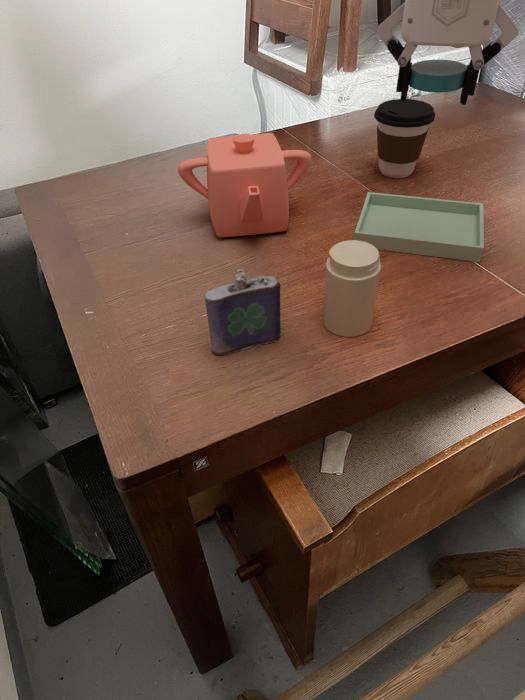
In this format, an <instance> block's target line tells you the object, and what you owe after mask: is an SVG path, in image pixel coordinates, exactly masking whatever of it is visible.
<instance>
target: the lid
mask: <svg viewBox="0 0 525 700" xmlns="http://www.w3.org/2000/svg"><path fill="white" fill-rule="evenodd" d="M466 73H467V64H465V63H463V62H460V61H456V60H451V59H426V60H421V61H417V62H414V63H412V66H411V71H410V78H409V87H410V88H412V89H413V90H416V91H420V92H425V93H437V94H439V93H449V92H451V93H452V92H456V91H459V90H460V89H462V87H463V86H464V82H465V77H466Z"/></svg>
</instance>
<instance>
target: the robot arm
mask: <svg viewBox="0 0 525 700" xmlns="http://www.w3.org/2000/svg"><path fill="white" fill-rule="evenodd" d="M400 23H401V30H400V32H401V39H402V40H403V42H404V43H405V44H404V46H403V44H402V42H401V41H400V40H399V39H398V38H397V37H396V35H395V33H394V32H393V29H394V28H395V27H396V26H397V25H399V24H400ZM495 24H496V26H497V27H498V28H499V29H500V30H501V31H500V32H501V33H500V34H499V35H498V36H497V37H496V38H495V39H494V40H492V41H491V42H489V41H490V39H491V37H492V33H493V30H494V27H495ZM376 32H377V35H378V36H379V37H380V39H381V40H382V42H383V44H384V45H385V46H386V48H387V51H388V52H389V53H390V54H391V56H392V57H393V59H394V60H395V61H396V63H397V65H398V75H397V82H396V90H395V92H396V93H400V98H399V99H400V101H403V102H404V100H406V99H408V92H409V87H410V86H409V78H410V71H411V66H412V65H413V62H412V56H413V54H414V53H415V51H416V49H417V48H418V46H430V47H460V48H461V47H464V48H468V50H469V55H470V59H469V60H470V61H469V63H468V64H466V66H467V73H466V77H465V82H464V86H463V87H462V88H461V92H460V96H459V104H461V105H462V106H466V105H467V102H468V98H469V97H474V95H475V91H476V87H477V82H478V79H479V73H480V71H481V70H482V69H483V67H484V66H485V65H486V64H487V63H489V62H490V61H491V60H492V59H493V58H495V57H496V56H497V55H498V54H499V53H500V52H501V51H502V50H503V49H504V48H506V47H507V46H508V45H509V44H511V43H512V41H513V40H514V39H516V38H517V36H518V35H519V29H518V27H517V25H516V24H515V22H514V21H513V20H512V18H511V17H510V16H509V15H508V14H507V12H506V10H505V9H504V8H503V7H502V5H500V0H405V1H404V3H402V4H401V5H400V6H399V7H398V8H396V9H395V10H394V11H393V12H391V14H390V15H389V16H387V17H386V19H385V20H383V21H382V22H381V23H380V24H378V27H377V29H376ZM488 42H489V44H487V45H486V46H485V47H484V48H483V47H482V46H483V45H484V44H486V43H488Z"/></svg>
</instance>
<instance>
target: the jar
mask: <svg viewBox="0 0 525 700" xmlns="http://www.w3.org/2000/svg"><path fill="white" fill-rule="evenodd" d="M328 256H329V257H328V258H327V259H326V261H325V273H324V275H325V276H324V290H323V292H324V293H323V311H322V323H323V325H324V327H325V328H326V329H327V330H328V331H329V332H330V333H332V334H334V335H337V336H340V337H345V338H355V337H359V336H362V335H365V334H367V332H369V331H370V330H371V328H372V326H373V324H374V318H375V317H374V316H375V312H376V311H375V309H376V303H377V296H378V290H379V283H380V275H381V270H382V269H381V268H382V264H381V261H380V252H379V249H377V248H376V247H374V246H373V245H371V244H369V243H367V242H364V241H358V240H354V239H350V240H349V239H348V240H343V241H340V242H338V243H335V244H334V245H333V246H331V247H330V249H329V251H328Z"/></svg>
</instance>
